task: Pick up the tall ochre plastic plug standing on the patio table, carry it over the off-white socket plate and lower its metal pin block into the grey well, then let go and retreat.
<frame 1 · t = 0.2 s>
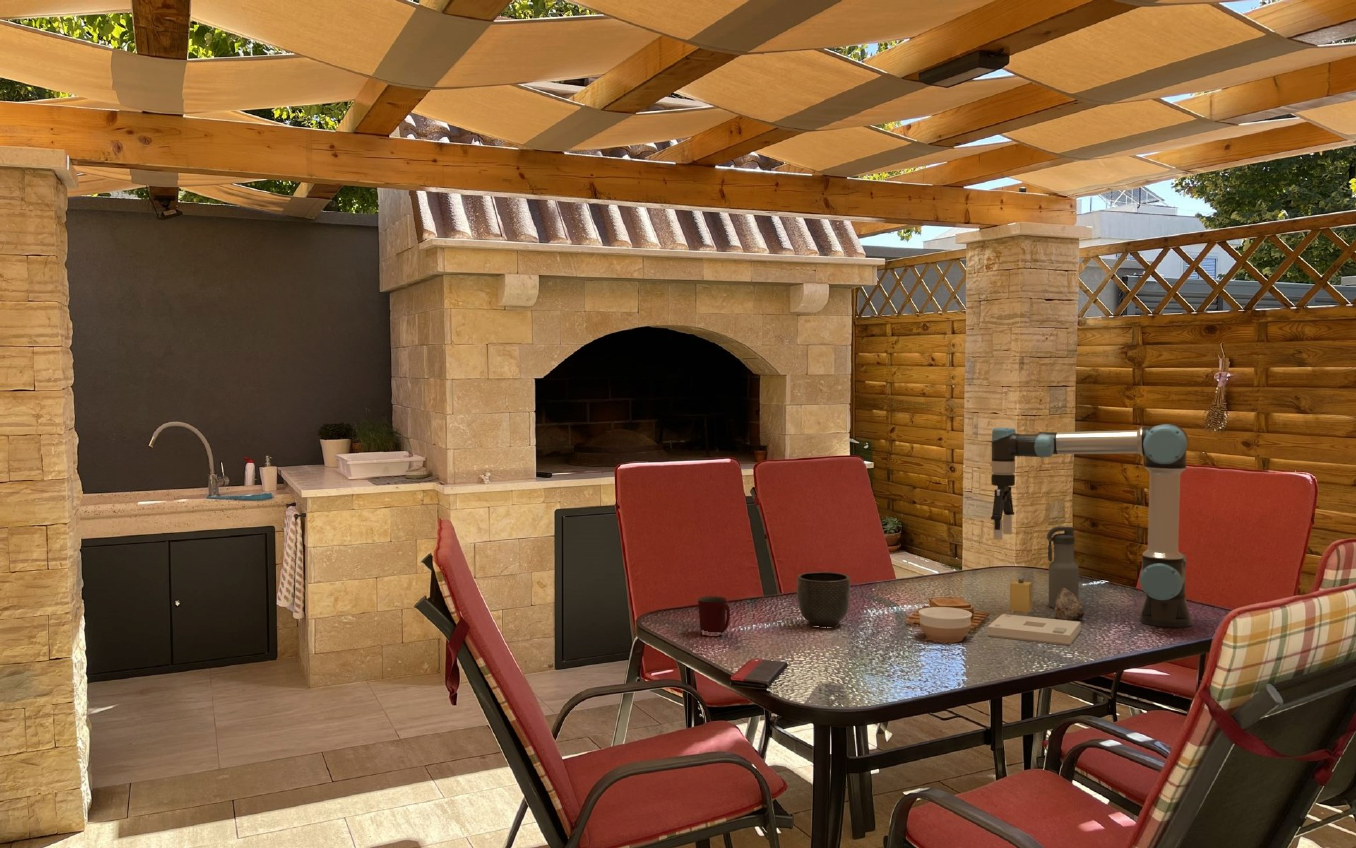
hand: (1002, 536, 343), 27 cm above the table, fingers open, 13 cm apart
socket plate: (1034, 633, 318), on the table
mug: (715, 635, 320), on the table
planter: (823, 626, 332), on the table
bowl: (945, 638, 314), on the table
plug: (1020, 618, 339), on the table
rock: (1065, 620, 337), on the table
water bottle: (1062, 607, 356), on the table
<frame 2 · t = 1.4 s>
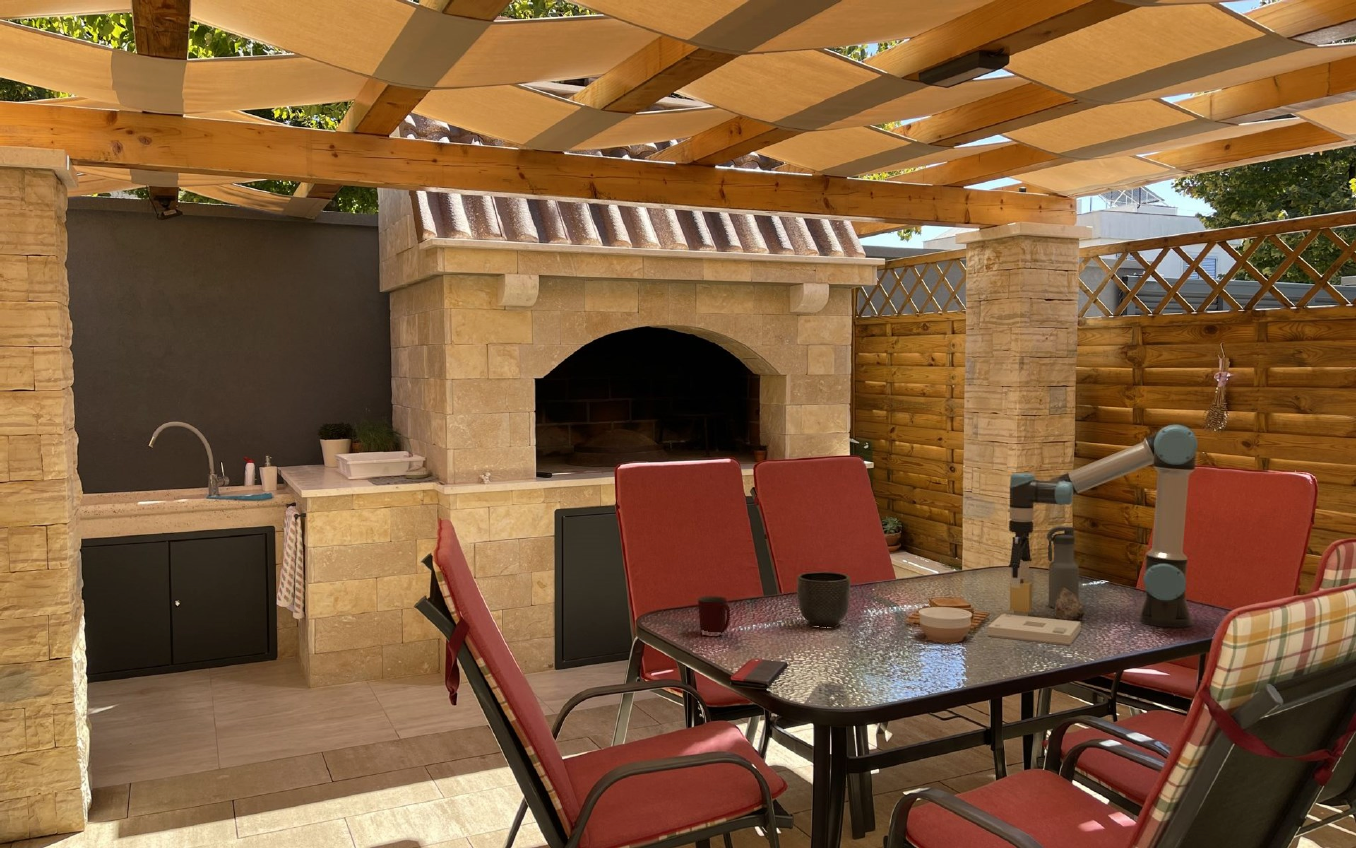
hand: (1019, 584, 338), 12 cm above the table, fingers open, 13 cm apart
nothing on the table moved.
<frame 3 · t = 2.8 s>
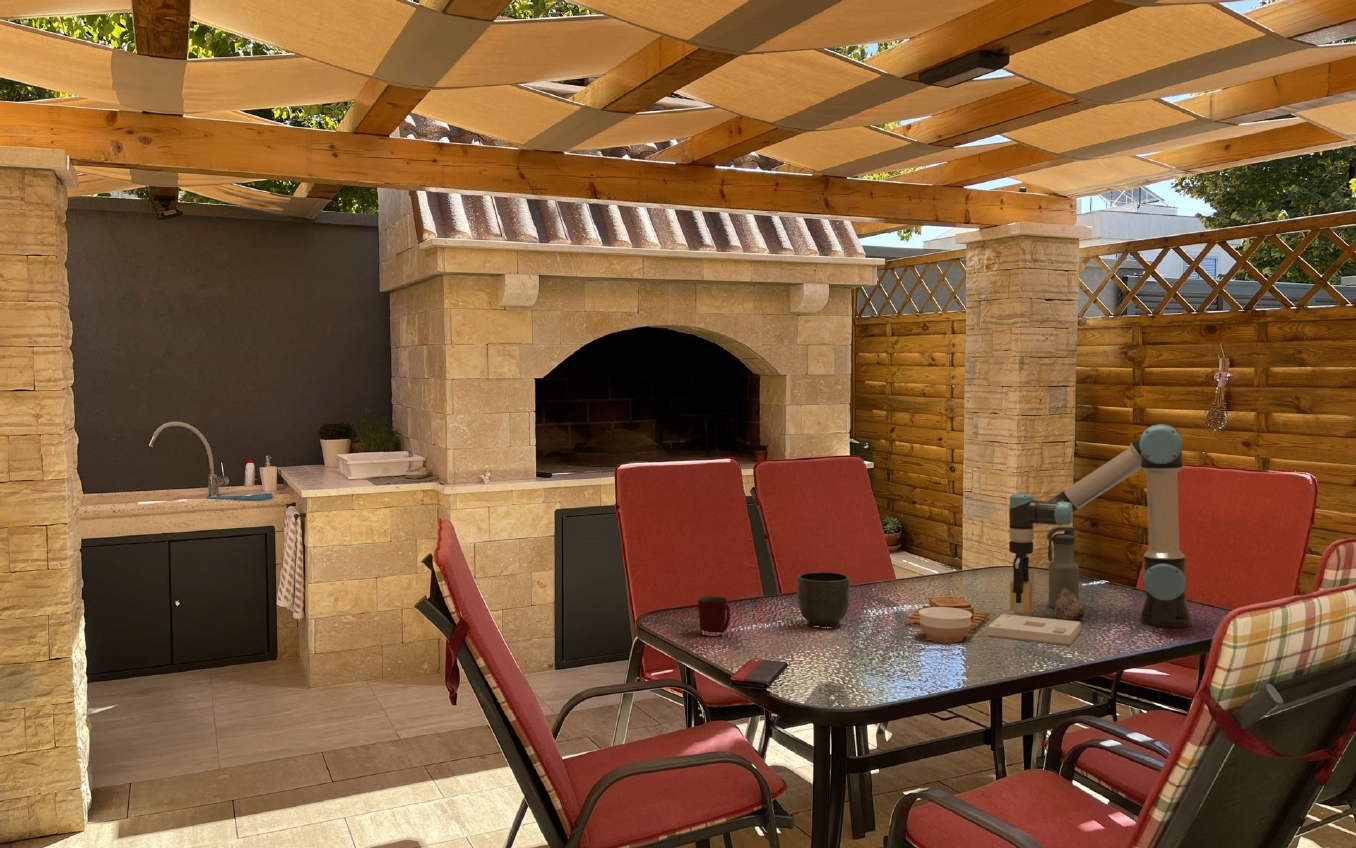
hand: (1020, 610, 338), 3 cm above the table, fingers closed on plug, 5 cm apart
plug: (1020, 618, 339), on the table, touching gripper
everything else where it was.
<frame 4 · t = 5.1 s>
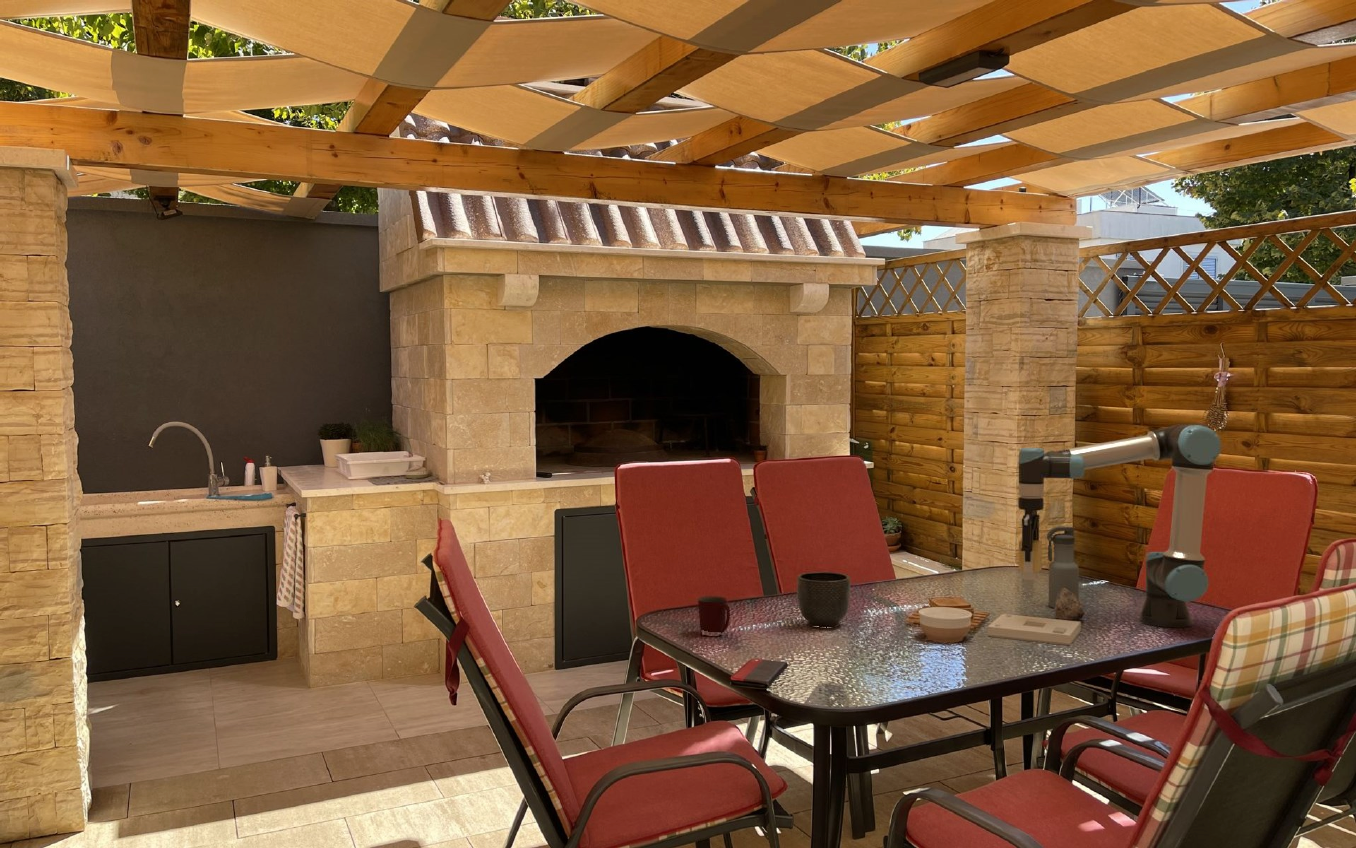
hand: (1030, 570, 323), 19 cm above the table, fingers closed on plug, 5 cm apart
plug: (1030, 579, 323), point 16 cm above the table, touching gripper
everything else where it was.
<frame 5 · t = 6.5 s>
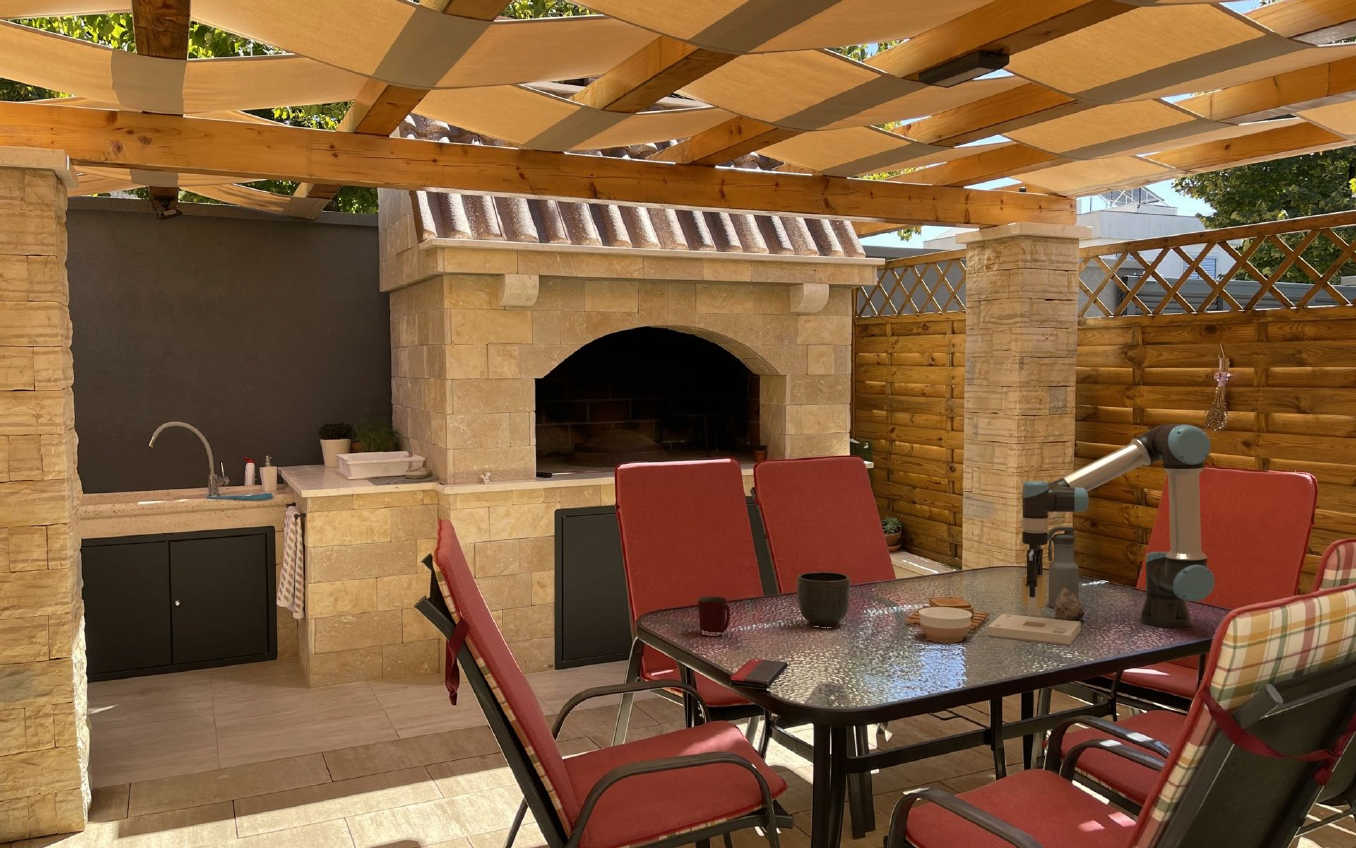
hand: (1034, 605, 318), 9 cm above the table, fingers closed on plug, 5 cm apart
plug: (1034, 614, 318), point 6 cm above the table, touching gripper
everything else where it was.
when the fingers open (4 cm above the table, at t = 7.8 s): plug stays where it is, resting on socket plate.
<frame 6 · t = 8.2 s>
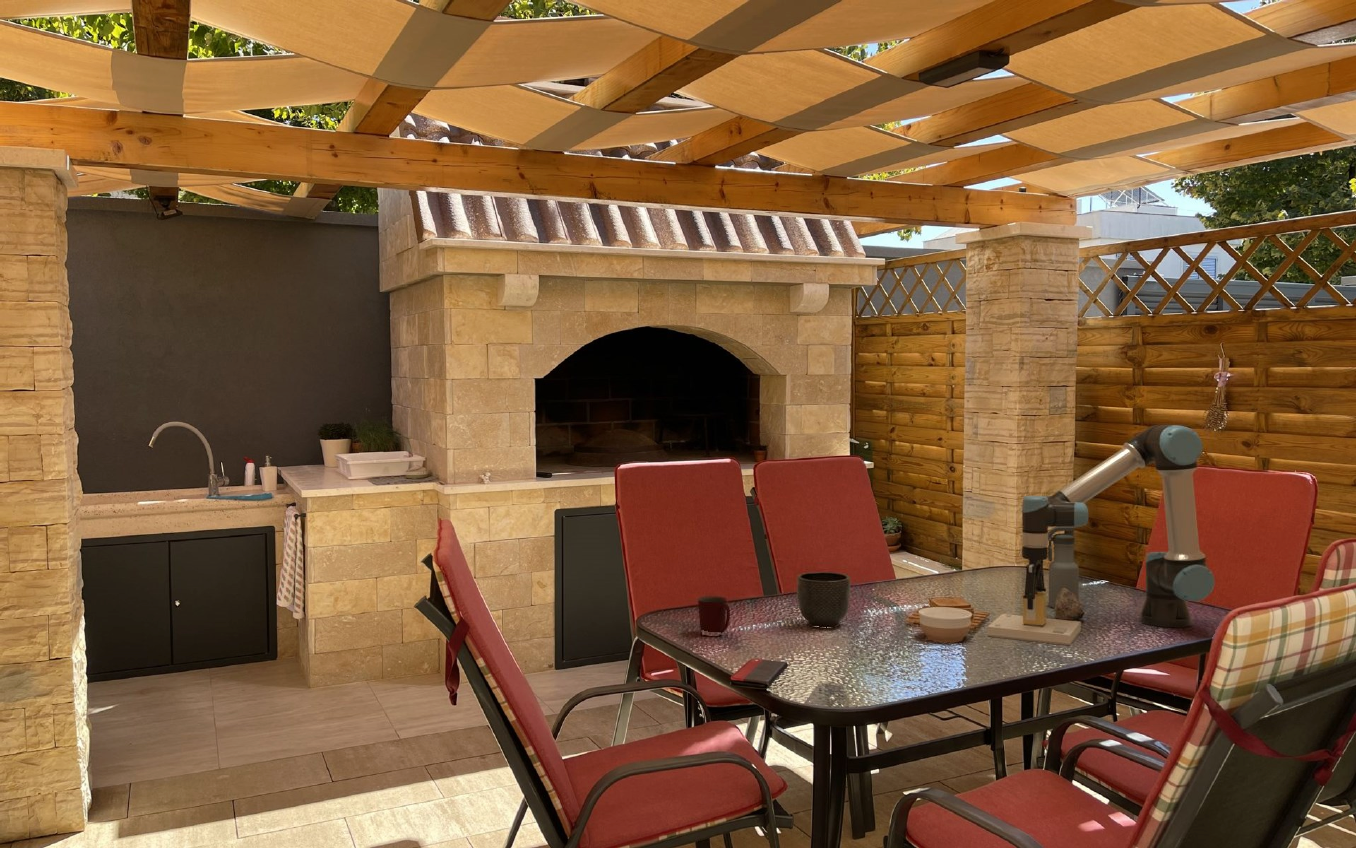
hand: (1034, 616, 318), 6 cm above the table, fingers open, 11 cm apart
plug: (1034, 632, 318), resting on socket plate
everything else where it was.
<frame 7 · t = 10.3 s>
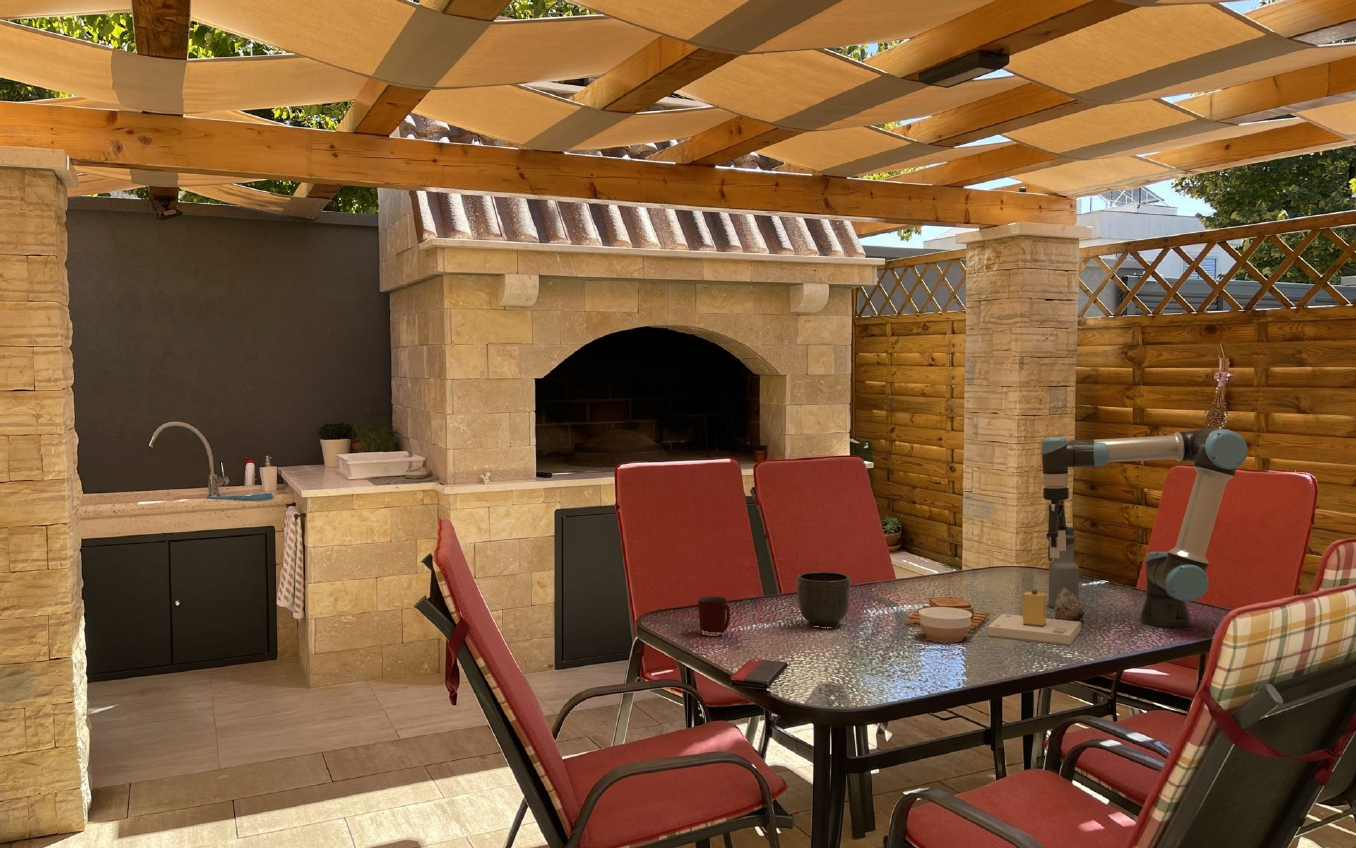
hand: (1058, 554, 321), 24 cm above the table, fingers open, 13 cm apart
nothing on the table moved.
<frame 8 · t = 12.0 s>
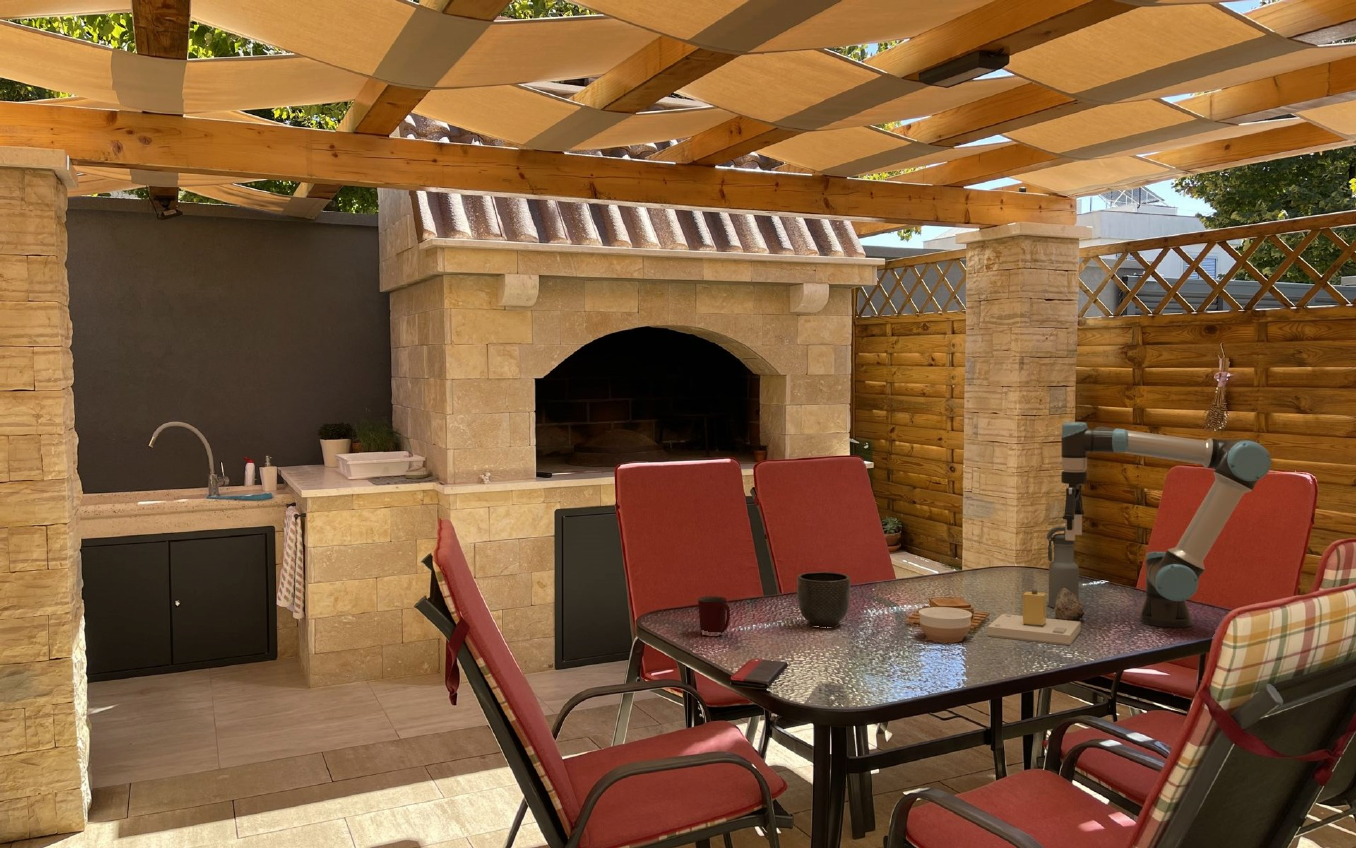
hand: (1073, 537, 326), 29 cm above the table, fingers open, 13 cm apart
nothing on the table moved.
at the end: plug 0.1 cm off-centre on the socket plate, point 0.5 cm above the socket plate's base; plug tilted 0°; the gripper is holding nothing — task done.
